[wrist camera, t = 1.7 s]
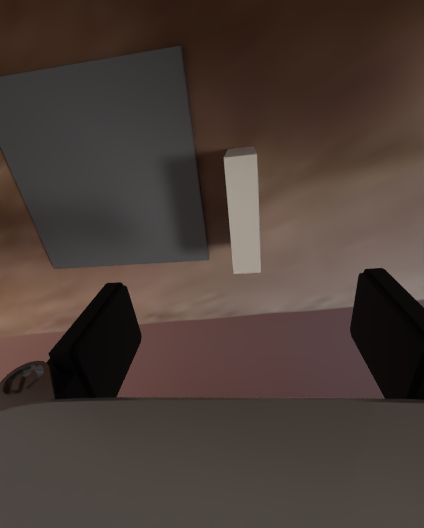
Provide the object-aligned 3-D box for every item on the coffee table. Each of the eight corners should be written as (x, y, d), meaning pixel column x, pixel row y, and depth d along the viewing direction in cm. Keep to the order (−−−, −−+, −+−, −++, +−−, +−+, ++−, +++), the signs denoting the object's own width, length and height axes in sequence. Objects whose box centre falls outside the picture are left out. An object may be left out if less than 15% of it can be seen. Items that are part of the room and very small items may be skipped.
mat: (181, 47, 20) (180, 45, 20) (209, 257, 29) (208, 260, 28) (-23, 82, 23) (-29, 81, 22) (57, 266, 31) (54, 268, 31)
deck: (253, 145, 23) (258, 154, 18) (257, 240, 27) (261, 272, 22) (228, 148, 24) (223, 157, 18) (235, 242, 28) (233, 273, 22)
